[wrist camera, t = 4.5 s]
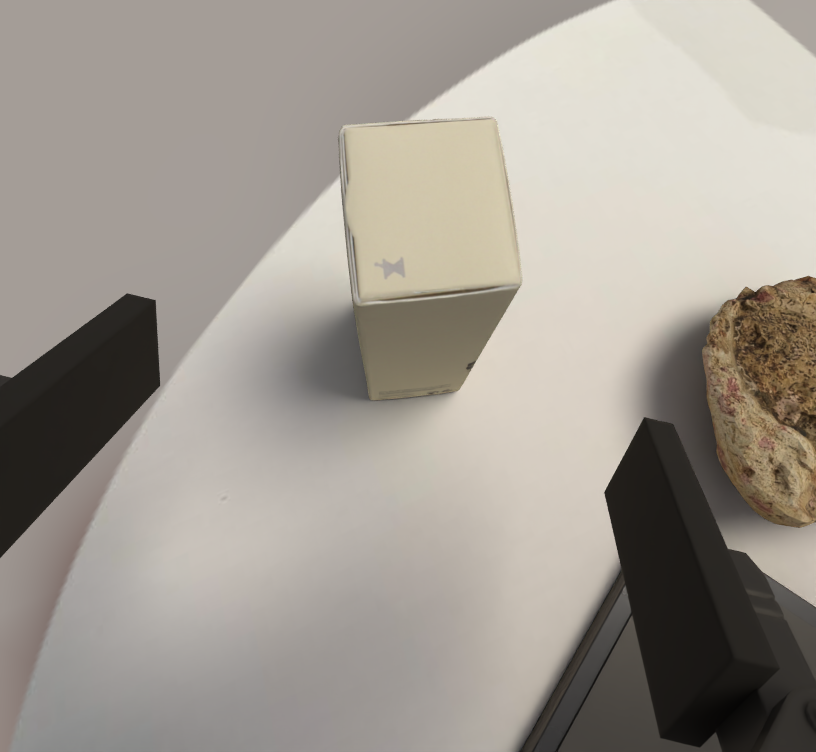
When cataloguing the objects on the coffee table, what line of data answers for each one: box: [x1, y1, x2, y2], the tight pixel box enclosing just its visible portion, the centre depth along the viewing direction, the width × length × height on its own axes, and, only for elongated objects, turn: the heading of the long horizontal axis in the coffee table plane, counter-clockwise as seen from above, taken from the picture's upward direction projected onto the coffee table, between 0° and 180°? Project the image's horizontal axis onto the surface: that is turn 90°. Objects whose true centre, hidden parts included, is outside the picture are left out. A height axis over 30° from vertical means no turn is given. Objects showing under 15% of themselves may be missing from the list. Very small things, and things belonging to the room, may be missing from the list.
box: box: [338, 117, 522, 400], centre depth 20 cm, size 5×4×13 cm
